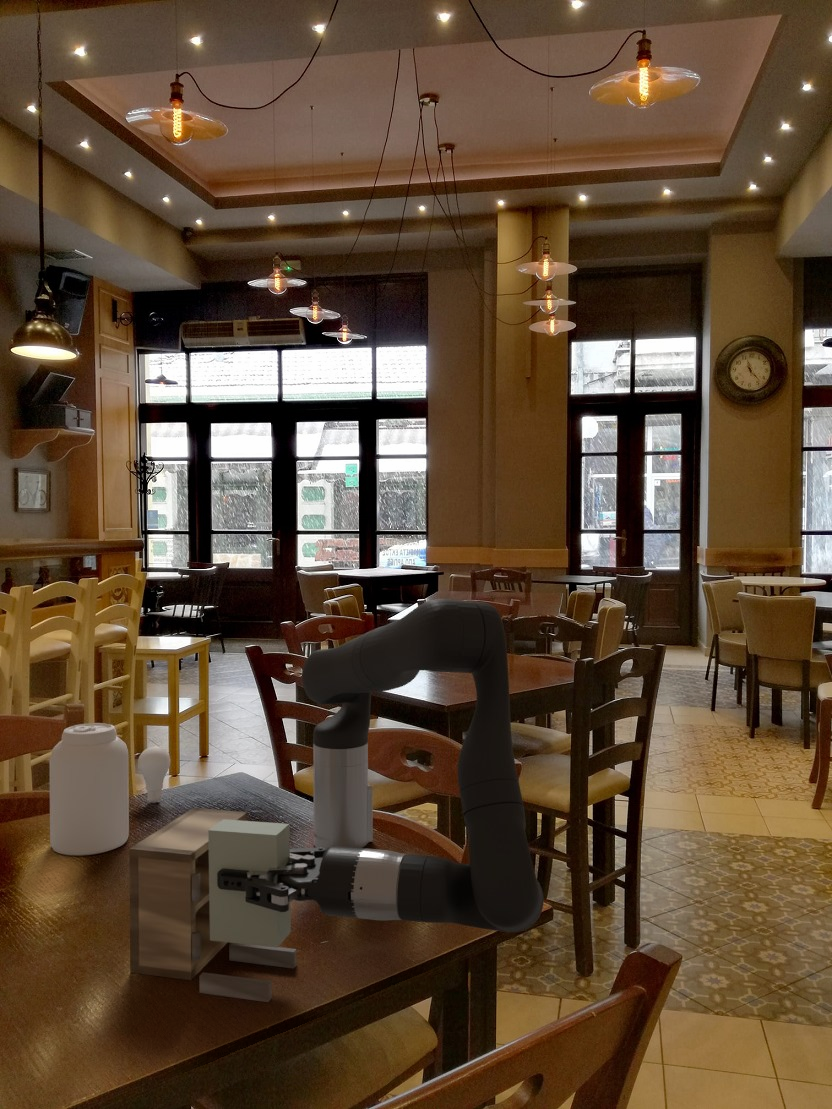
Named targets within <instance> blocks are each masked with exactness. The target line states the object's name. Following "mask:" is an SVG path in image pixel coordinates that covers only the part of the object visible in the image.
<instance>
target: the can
mask: <svg viewBox="0 0 832 1109" xmlns="http://www.w3.org/2000/svg"><path fill="white" fill-rule="evenodd" d="M117 734H118V733H117V729H116V727H115V726H114V725H113V724H109V723H105V722H104V723H103V722H91V723H90V722H89V723H79V724H74V725H71V726H69V727H66V728H64V730H63V732H62V734H61V740H59V742H58V743H57V744H56V745H55V746H53V748H52V750H51V753H50V757H49V837H50V838H49V841H50V842H49V845H50V846H51V848H52V850H53V851H54V852H56V853H58V854H61V855H65V856H91V855H97V854H102V853H105V852H109V851H112V850H114V849H117V848H119V847H121V846H123V845H124V844H125V843H127V841H128V838H129V835H130V823H129V822H130V821H129V820H130V819H129V818H130V815H129V814H130V811H129V810H130V808H129V805H130V804H129V800H130V799H129V787H130V786H129V782H130V781H129V750H128V747H127V744H126V742H125V741H123V740H122V739H121V738H120V737H119V736H118V735H117Z"/></svg>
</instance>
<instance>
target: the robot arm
mask: <svg viewBox="0 0 832 1109" xmlns="http://www.w3.org/2000/svg"><path fill="white" fill-rule="evenodd" d="M506 638H507V637H506V632H505V626H504V623H503V619H502V616H501V614H500V612H499V611H498V610H497V608H496V607H495V606H494V605H492V604H490V603H488V602H484V601H478V600H476V601H475V600H465V599H464V600H462V599H461V600H460V599H449V598H436V599H430V600H427V601H425V602H423V603H421V604H419V605H418V606H417V607H415V608H414V609H413V610H411V611H410V612H408V613H407V614H405V615H403V617H401V618H400V619H398V620H395V621H392V622H390V623H388V624H386V625H383V626H379V627H376V628H374V629H372V630H369V631H367V632H365V633H363V634H361V635H359V636H357V637H355V638H353V639H351V640H349V641H346V642H345V643H343V644H341V645H338V646H336V647H333V648H325V649H324V648H323V649H322V648H321V649H317V650H315V651H313V652H311V653H310V654H309V655H308V656H307V658H306V659H305V662H304V664H303V667H302V671H301V682H302V688H303V690H304V692H305V694H306V696H307V697H308V698H309V699H310V701H313V702H314V703H316V704H319V705H333V704H335V705H336V704H342V705H341V708H340V709H339V710H338V711H337V712H336V713H335V714H333V715H332V716H330V717H328V718H327V719H325V720H323V721H321V722H319V723H318V724H316V725H315V726H314V729H313V735H312V736H313V738H312V739H313V742H312V743H313V744H312V747H313V749H312V750H313V757H312V758H313V760H312V761H313V845H314V847H304V848H303V847H300V848H299V847H298V848H297V847H296V848H290V856H289V857H288V862H290V863H288V864H287V865H286V866H278V867H277V868H272V867H271V868H269V869H268V871H247V870H236V869H225V868H223V869H221V870H220V871H218V873H217V885H218V888H219V889H224V890H234V891H245V892H246V897H245V901H246V902H248V903H251V904H255V905H258V906H261V907H265V908H268V909H272V910H275V911H279V912H286V911H288V910H289V902H290V903H291V902H305V901H314V902H316V904H318V906H319V909H320V910H319V911H321V913H322V914H323V915H325V916H331V917H344V918H351V919H363V920H371V921H405V922H407V921H409V922H418V923H429V924H431V923H432V924H435V923H436V924H437V923H439V924H440V923H441V924H442V923H443V924H445V923H446V924H448V923H449V924H456V925H460V926H461V925H462V926H467V927H471V928H477V929H484V930H489V931H496V932H497V931H498V932H505V933H520V932H522V931H525V930H528V929H529V928H530V927H532V926H533V925H534V924H535V923H536V922H537V921H538V920H539V918H540V916H541V914H542V911H543V908H544V903H545V902H544V901H545V900H544V892H543V889H542V887H541V884H540V882H539V880H538V879H537V875H536V872H535V868H534V864H533V859H532V855H531V852H530V847H529V842H528V837H527V834H526V826H527V822H526V820H527V819H526V813H525V806H524V801H523V797H522V791H521V785H520V780H519V778H518V777H519V776H518V773H517V766H516V761H515V754H514V748H513V740H512V727H511V723H512V722H511V703H510V702H511V701H510V700H511V698H510V681H509V679H510V678H509V662H508V649H507V648H508V647H507V639H506ZM420 671H429V672H434V673H435V672H436V673H456V674H457V673H459V674H461V673H462V674H471V675H472V677H473V681H474V685H475V693H476V703H475V709H474V713H473V717H472V720H471V722H470V725H469V727H468V731H467V733H466V736H465V738H464V741H463V743H462V746H461V749H460V751H459V756H458V761H457V783H458V791H459V796H460V802H461V808H462V815H463V820H464V824H465V828H466V832H467V837H468V839H467V840H468V855H469V863H460V862H455V861H454V860H452V859H449V858H446V857H441V856H435V855H422V854H412V853H411V854H407V853H402V852H397V851H394V850H388V849H378V848H377V849H376V848H375V849H374V848H365V847H366V846H367V845H368V844H369V843H370V842H373V840H374V839H373V836H374V834H373V829H374V828H373V827H374V822H373V821H374V820H373V818H374V817H373V813H374V812H373V809H374V808H373V801H374V800H373V799H374V798H373V797H374V795H373V794H374V793H373V789H374V788H373V786H372V784H369V777H368V776H369V759H368V757H369V755H368V754H369V751H368V750H369V749H368V748H369V743H368V742H369V732H370V731H369V730H370V725H371V702H372V693H379V692H380V693H383V692H387V691H391V690H394V689H398V688H402V687H405V685H407V684H410V683H412V681H413V680H414V679H415V678H416V677H417V676H418V675H419V672H420ZM277 874H278V884H277V883H274V876H275V875H277ZM262 879H266V880H267V881H266V880H262Z"/></svg>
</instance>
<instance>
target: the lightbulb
mask: <svg viewBox="0 0 832 1109" xmlns="http://www.w3.org/2000/svg"><path fill="white" fill-rule="evenodd" d="M137 767H138V771H139V772H140V774H141V775H142V777H143V780H144V783H145V790H146V794H147V795H146V796H147V800H148V801H149V802H151V803H152V804H156V803H158V802H159V801H160V800H161V799H162V789H163V788H164V781H165V780H164V779H165V778H166V774H167V773H168V771H169V770H170V767H171V756H170V754H169V753H168V752H167V750H166V749H165V748H163V747H160V746H150V747H147V748H146V749H144V750H143V751H142V752H141V753H140V755H139V757H138V760H137Z"/></svg>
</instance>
